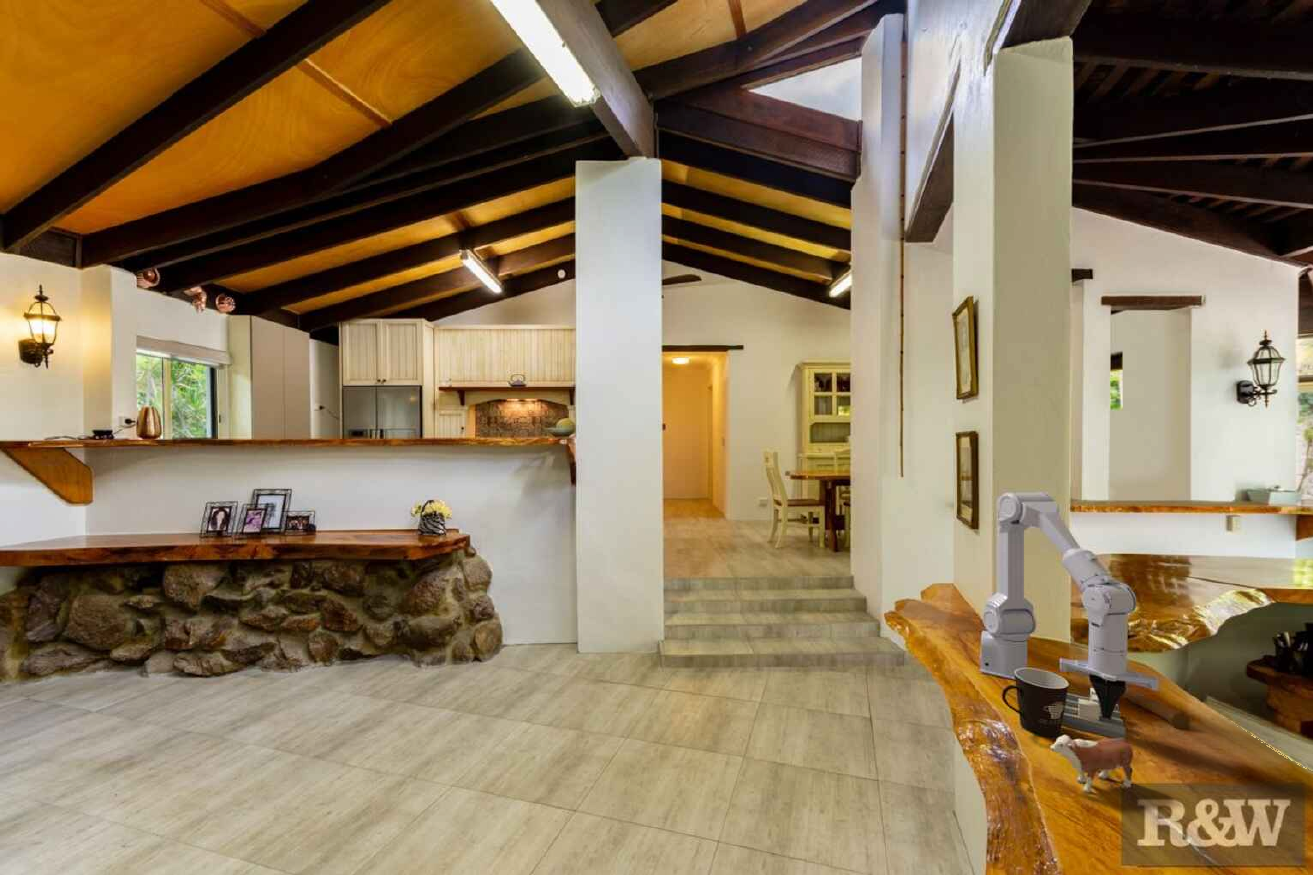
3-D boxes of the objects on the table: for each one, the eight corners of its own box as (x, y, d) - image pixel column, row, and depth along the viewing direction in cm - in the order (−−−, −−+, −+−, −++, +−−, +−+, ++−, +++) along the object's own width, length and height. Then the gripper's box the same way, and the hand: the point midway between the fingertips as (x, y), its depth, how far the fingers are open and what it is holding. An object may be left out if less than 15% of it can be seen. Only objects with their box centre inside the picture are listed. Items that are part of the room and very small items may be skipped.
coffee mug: (1058, 721, 109) (1058, 671, 108) (1075, 745, 100) (1076, 691, 100) (991, 711, 112) (991, 663, 112) (1002, 733, 104) (1003, 681, 104)
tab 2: (1090, 708, 111) (1091, 691, 111) (1090, 703, 113) (1090, 687, 113) (1110, 712, 109) (1110, 696, 109) (1108, 708, 111) (1109, 691, 111)
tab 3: (1092, 715, 108) (1092, 699, 108) (1091, 711, 110) (1091, 694, 110) (1112, 720, 106) (1112, 703, 106) (1110, 715, 108) (1111, 698, 108)
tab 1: (1079, 720, 106) (1079, 703, 106) (1078, 715, 108) (1078, 698, 108) (1098, 725, 105) (1099, 707, 105) (1097, 720, 106) (1098, 702, 106)
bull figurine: (1044, 778, 91) (1045, 730, 91) (1119, 773, 92) (1120, 726, 92) (1066, 796, 87) (1067, 745, 87) (1144, 791, 88) (1145, 741, 88)
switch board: (1058, 724, 107) (1059, 712, 107) (1056, 701, 116) (1056, 690, 116) (1125, 741, 102) (1125, 728, 102) (1117, 715, 111) (1117, 704, 111)
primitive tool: (1095, 684, 125) (1096, 669, 125) (1119, 684, 125) (1120, 669, 125) (1174, 731, 106) (1174, 714, 106) (1202, 732, 106) (1203, 714, 106)
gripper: (1061, 644, 105) (1060, 713, 106) (1162, 663, 97) (1161, 738, 97) (1059, 633, 111) (1058, 698, 111) (1155, 649, 103) (1153, 720, 103)
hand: (1106, 716), depth 105 cm, fingers closed
